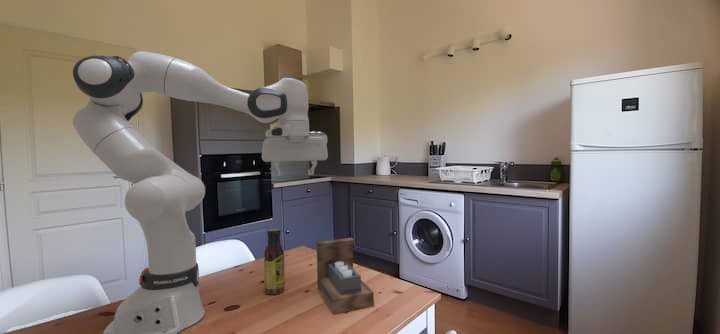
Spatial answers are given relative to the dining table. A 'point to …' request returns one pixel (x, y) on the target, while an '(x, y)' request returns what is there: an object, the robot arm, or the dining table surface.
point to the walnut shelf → (336, 302)
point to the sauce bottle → (274, 264)
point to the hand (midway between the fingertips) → (296, 175)
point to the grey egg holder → (344, 277)
